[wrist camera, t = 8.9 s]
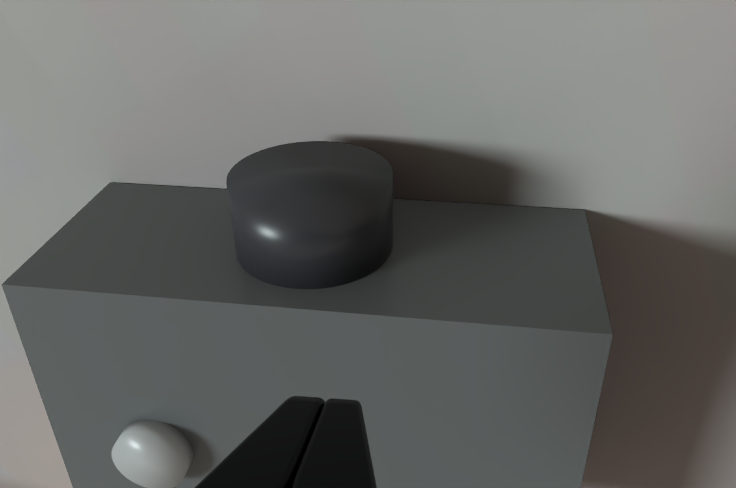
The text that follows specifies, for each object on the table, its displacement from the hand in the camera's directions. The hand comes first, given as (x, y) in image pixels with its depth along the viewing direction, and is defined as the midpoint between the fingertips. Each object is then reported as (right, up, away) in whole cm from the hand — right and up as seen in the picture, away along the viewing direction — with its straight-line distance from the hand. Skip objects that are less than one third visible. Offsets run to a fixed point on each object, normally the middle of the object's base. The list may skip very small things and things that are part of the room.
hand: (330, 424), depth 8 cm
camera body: (0, -1, +15) cm, 15 cm away
